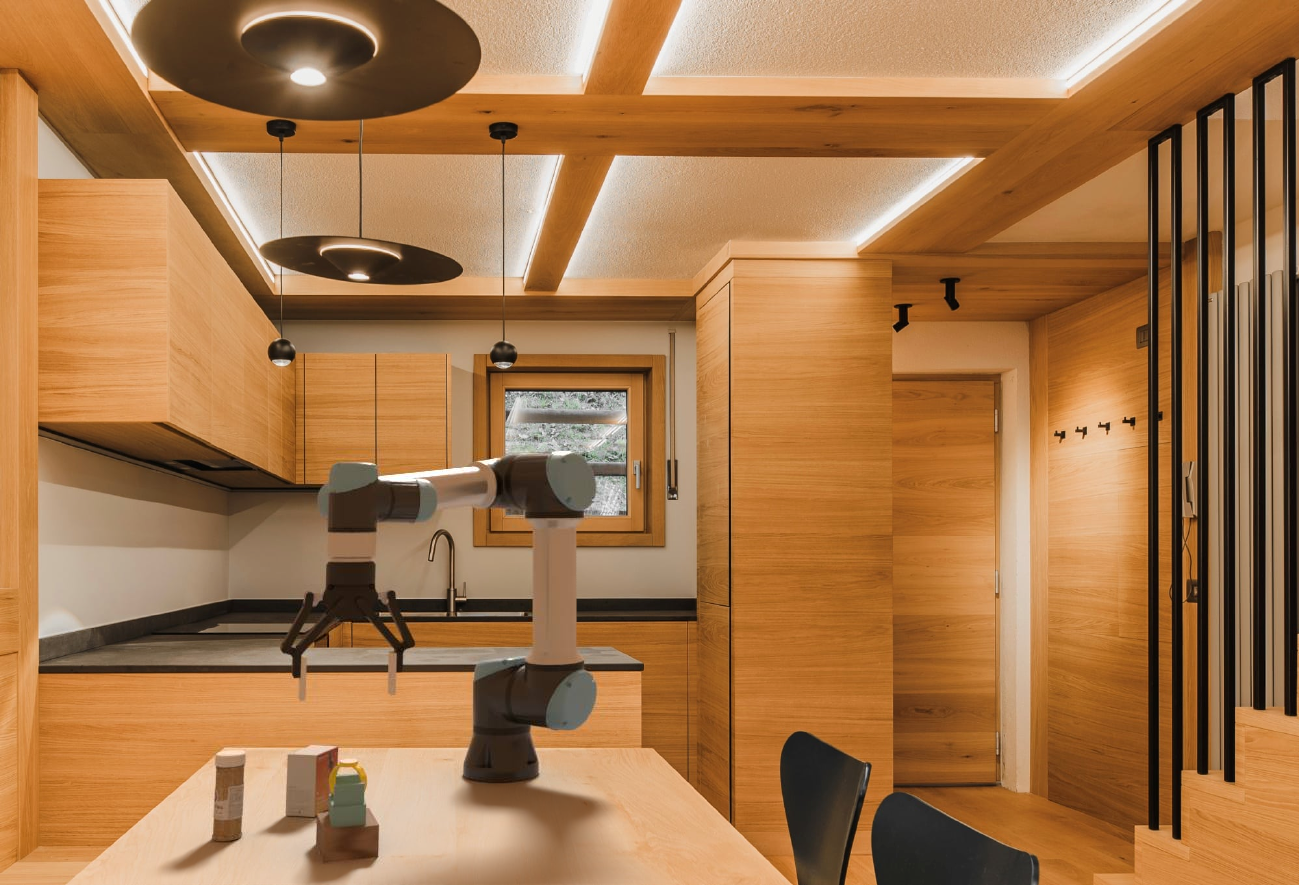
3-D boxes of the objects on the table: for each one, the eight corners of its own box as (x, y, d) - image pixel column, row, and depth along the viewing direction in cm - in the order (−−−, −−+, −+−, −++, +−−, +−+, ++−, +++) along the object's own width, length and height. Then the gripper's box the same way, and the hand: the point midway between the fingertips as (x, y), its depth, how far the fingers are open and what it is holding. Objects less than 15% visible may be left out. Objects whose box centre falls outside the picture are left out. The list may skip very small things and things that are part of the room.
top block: (361, 810, 162) (362, 772, 162) (365, 824, 154) (366, 784, 155) (328, 813, 160) (329, 774, 161) (331, 828, 153) (332, 787, 153)
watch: (368, 800, 158) (371, 761, 158) (358, 805, 155) (361, 765, 156) (335, 794, 160) (338, 755, 160) (324, 799, 157) (328, 760, 157)
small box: (314, 818, 174) (316, 755, 175) (284, 816, 175) (286, 753, 176) (337, 806, 182) (339, 745, 182) (308, 804, 183) (310, 744, 183)
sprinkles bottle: (206, 838, 162) (210, 752, 163) (233, 832, 166) (237, 747, 167) (220, 844, 159) (224, 756, 160) (248, 837, 163) (251, 752, 164)
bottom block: (368, 840, 163) (369, 808, 163) (378, 859, 154) (379, 825, 154) (315, 846, 160) (317, 813, 160) (323, 865, 151) (324, 831, 151)
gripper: (425, 558, 169) (422, 687, 168) (265, 560, 159) (260, 698, 157) (435, 560, 163) (432, 695, 161) (269, 561, 152) (264, 706, 151)
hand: (347, 696), depth 159 cm, fingers open, 13 cm apart
